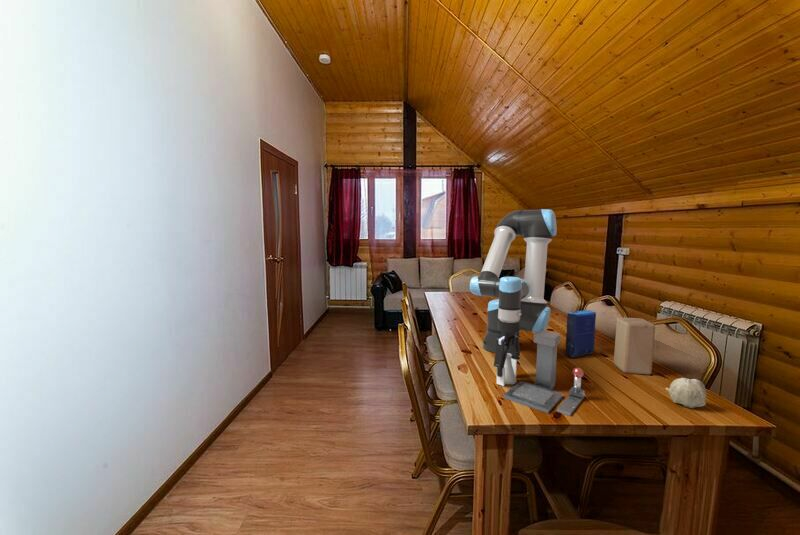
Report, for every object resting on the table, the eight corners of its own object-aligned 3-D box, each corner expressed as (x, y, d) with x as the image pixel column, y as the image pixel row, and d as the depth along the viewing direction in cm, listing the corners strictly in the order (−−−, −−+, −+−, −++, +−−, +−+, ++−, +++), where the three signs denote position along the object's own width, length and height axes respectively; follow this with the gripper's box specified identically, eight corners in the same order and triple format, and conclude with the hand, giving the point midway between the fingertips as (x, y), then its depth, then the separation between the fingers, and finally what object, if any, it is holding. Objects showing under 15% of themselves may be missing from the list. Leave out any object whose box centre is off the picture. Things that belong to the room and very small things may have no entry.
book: (572, 359, 144) (575, 313, 142) (562, 355, 149) (564, 311, 147) (595, 354, 150) (598, 310, 148) (584, 350, 155) (586, 308, 153)
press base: (503, 397, 110) (505, 341, 108) (528, 378, 125) (530, 328, 123) (566, 420, 97) (570, 356, 95) (585, 395, 112) (589, 339, 110)
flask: (517, 378, 125) (518, 352, 124) (517, 386, 118) (518, 359, 117) (496, 375, 127) (497, 349, 126) (495, 383, 121) (496, 356, 120)
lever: (569, 393, 110) (570, 368, 109) (572, 390, 113) (573, 364, 112) (581, 397, 108) (582, 371, 107) (584, 393, 110) (585, 367, 109)
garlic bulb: (701, 413, 105) (719, 387, 103) (691, 417, 101) (710, 390, 98) (668, 393, 113) (684, 368, 110) (658, 395, 108) (674, 369, 105)
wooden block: (652, 375, 128) (656, 324, 126) (623, 373, 130) (627, 322, 128) (639, 365, 138) (643, 317, 136) (612, 363, 140) (615, 316, 138)
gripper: (505, 328, 110) (502, 393, 112) (531, 316, 126) (528, 374, 128) (484, 323, 115) (482, 386, 117) (512, 313, 131) (509, 368, 133)
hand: (506, 380), depth 123 cm, fingers open, 9 cm apart
